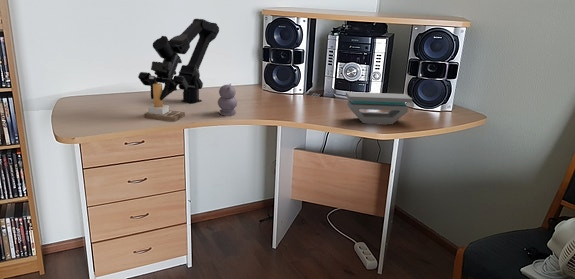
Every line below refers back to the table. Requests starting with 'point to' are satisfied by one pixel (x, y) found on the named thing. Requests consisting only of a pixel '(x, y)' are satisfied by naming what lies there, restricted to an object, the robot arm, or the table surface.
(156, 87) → the rubber stamp
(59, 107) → the table surface
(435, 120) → the table surface
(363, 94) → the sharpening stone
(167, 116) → the walnut board
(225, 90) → the grey stacked rounded piece
